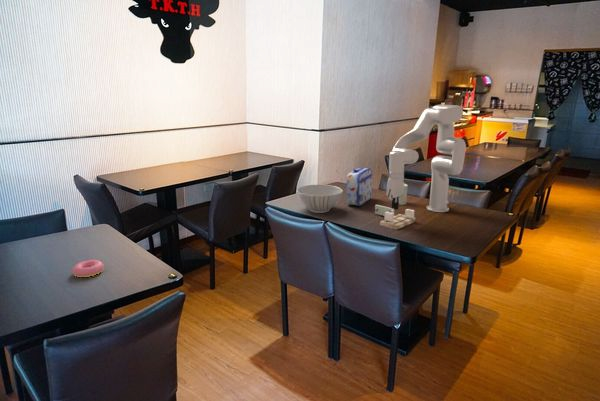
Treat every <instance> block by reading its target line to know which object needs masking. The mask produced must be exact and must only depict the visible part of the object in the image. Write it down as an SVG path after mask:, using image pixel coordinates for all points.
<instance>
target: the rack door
mask: <svg viewBox="0 0 600 401" xmlns="http://www.w3.org/2000/svg"><path fill="white" fill-rule="evenodd" d="M385 212H391V213H392V207H388V206H384V205H380V204H375V205H374V214H376V215H379V216H384V217H385Z"/></svg>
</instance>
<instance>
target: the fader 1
mask: <svg viewBox="0 0 600 401" xmlns="http://www.w3.org/2000/svg"><path fill="white" fill-rule="evenodd" d="M394 216H395V212H394V213H391V212H385V216H384V219H383V220H387V221H394Z"/></svg>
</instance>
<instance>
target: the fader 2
mask: <svg viewBox="0 0 600 401" xmlns="http://www.w3.org/2000/svg"><path fill="white" fill-rule="evenodd" d="M404 215H405V217H407V218H411V219H412V218H415V210H414V209H410V208H407V209H405V210H404Z"/></svg>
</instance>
